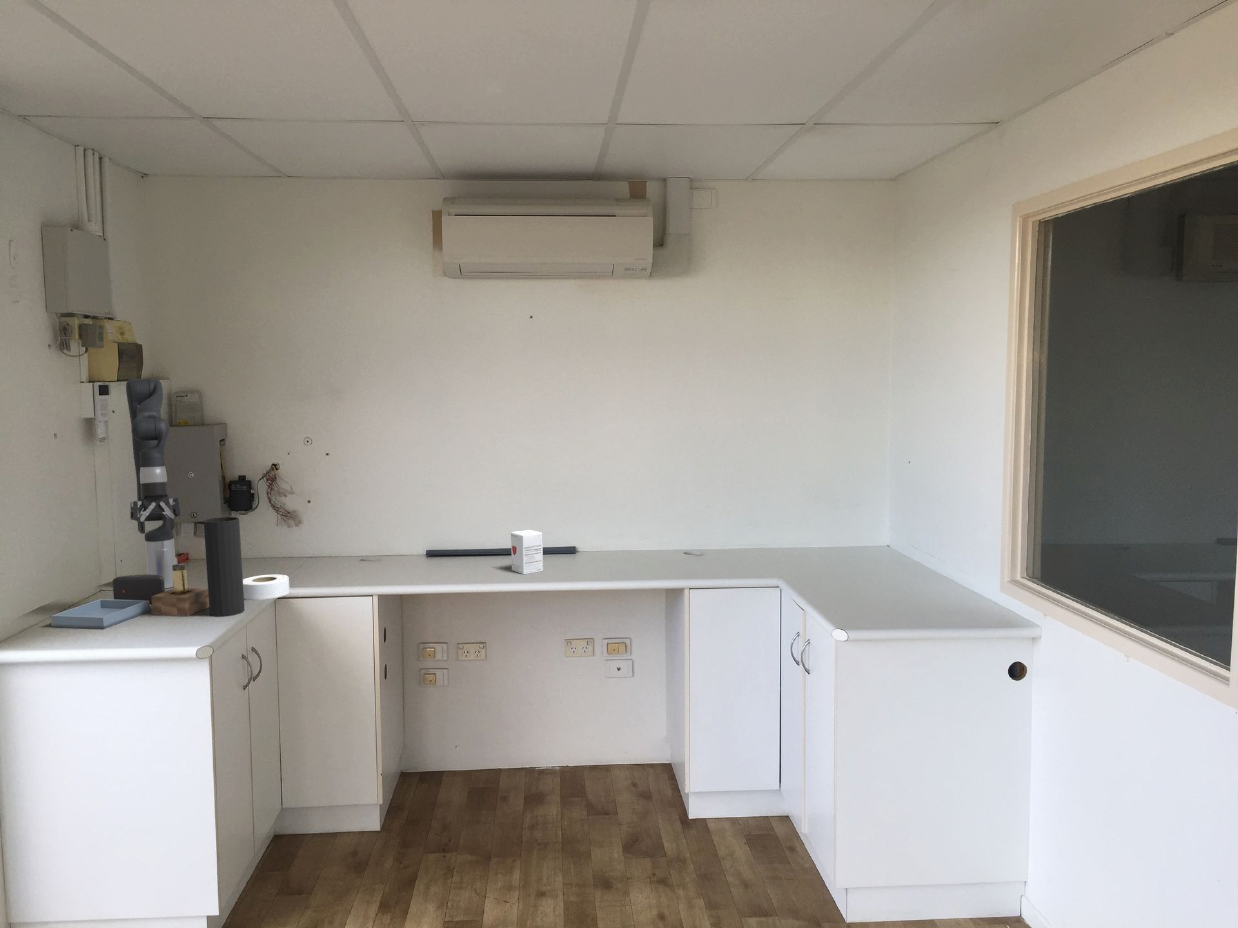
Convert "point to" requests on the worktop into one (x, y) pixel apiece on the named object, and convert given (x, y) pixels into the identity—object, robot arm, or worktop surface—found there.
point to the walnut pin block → (180, 602)
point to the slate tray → (100, 614)
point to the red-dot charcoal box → (138, 587)
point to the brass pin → (179, 579)
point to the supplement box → (527, 551)
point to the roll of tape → (265, 587)
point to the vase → (224, 566)
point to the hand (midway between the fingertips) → (156, 531)
